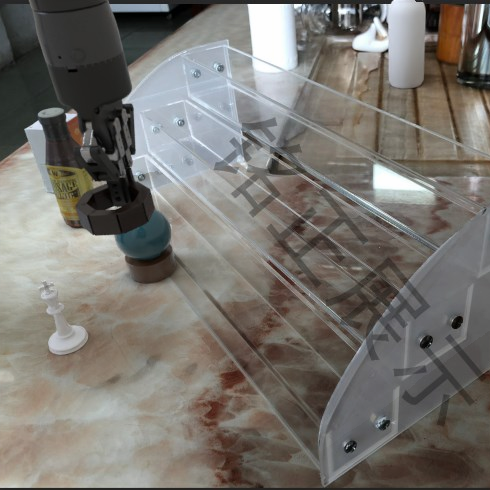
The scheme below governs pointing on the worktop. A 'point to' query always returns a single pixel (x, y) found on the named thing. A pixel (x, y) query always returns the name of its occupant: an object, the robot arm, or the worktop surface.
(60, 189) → the sauce bottle
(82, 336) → the chess piece
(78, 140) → the small box
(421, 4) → the white plastic bottle
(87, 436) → the worktop surface
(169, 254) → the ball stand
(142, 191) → the walnut ring
